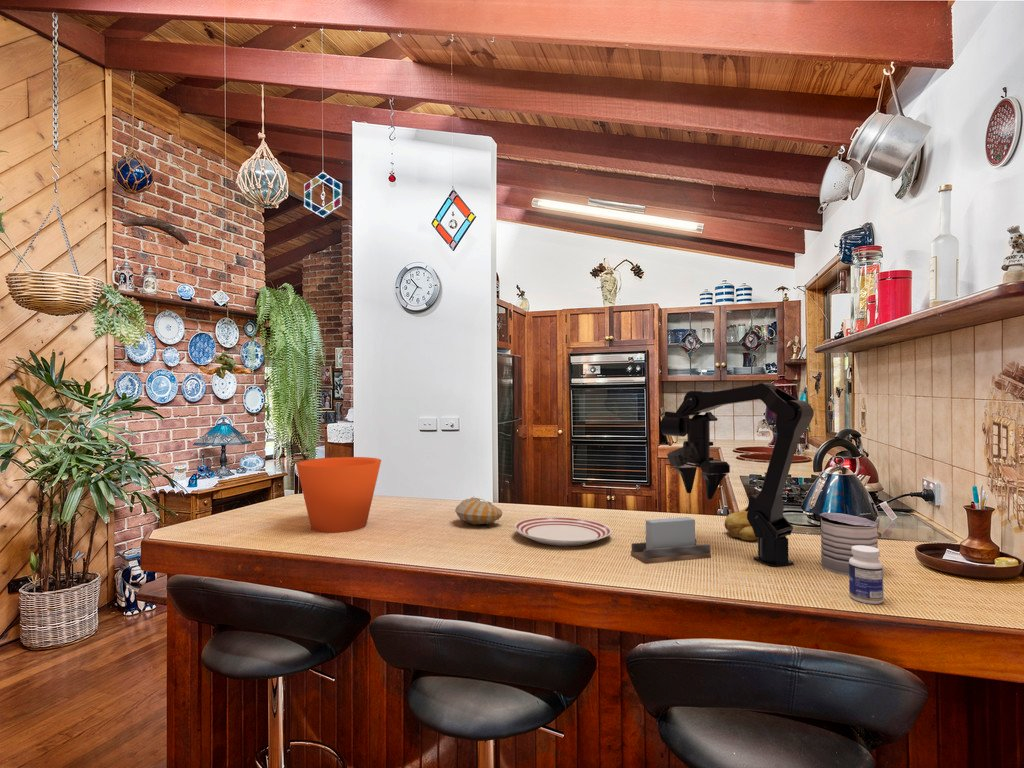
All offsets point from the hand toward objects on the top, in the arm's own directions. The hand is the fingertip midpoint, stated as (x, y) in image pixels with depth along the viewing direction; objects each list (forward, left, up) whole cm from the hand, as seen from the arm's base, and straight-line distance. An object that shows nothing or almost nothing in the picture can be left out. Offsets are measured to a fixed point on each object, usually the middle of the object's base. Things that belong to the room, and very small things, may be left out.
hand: (698, 496), depth 148 cm
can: (-27, -21, -13) cm, 37 cm away
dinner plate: (+18, +32, -14) cm, 39 cm away
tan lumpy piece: (+4, -17, -13) cm, 22 cm away
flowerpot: (+49, +93, -13) cm, 106 cm away
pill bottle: (-43, -8, -13) cm, 46 cm away
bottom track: (-7, +13, -13) cm, 20 cm away
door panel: (-7, +13, -12) cm, 19 cm away
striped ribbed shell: (+43, +50, -13) cm, 68 cm away
